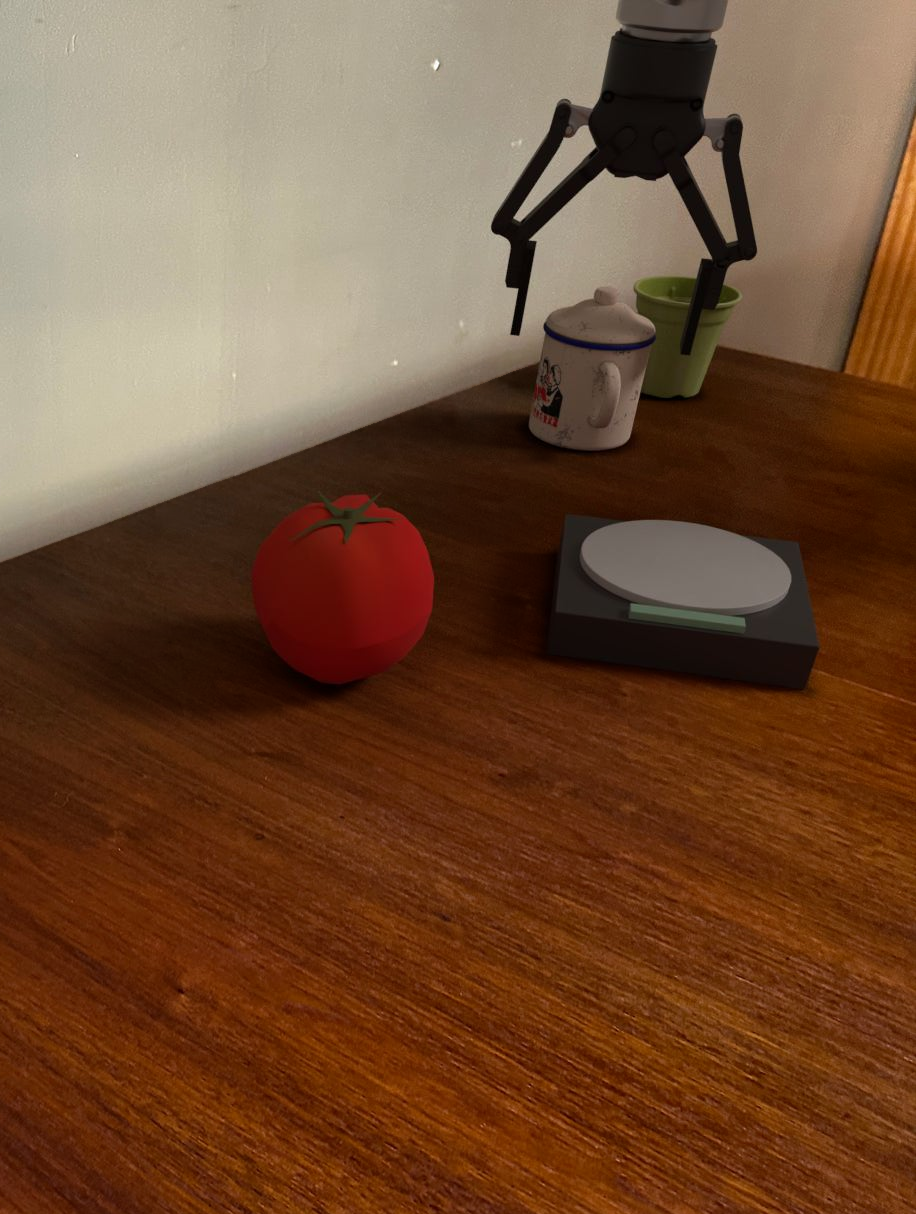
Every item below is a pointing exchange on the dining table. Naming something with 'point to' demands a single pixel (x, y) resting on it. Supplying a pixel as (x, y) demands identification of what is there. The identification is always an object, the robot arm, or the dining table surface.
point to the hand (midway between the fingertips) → (599, 340)
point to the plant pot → (679, 334)
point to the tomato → (343, 588)
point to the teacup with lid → (591, 373)
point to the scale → (682, 600)
